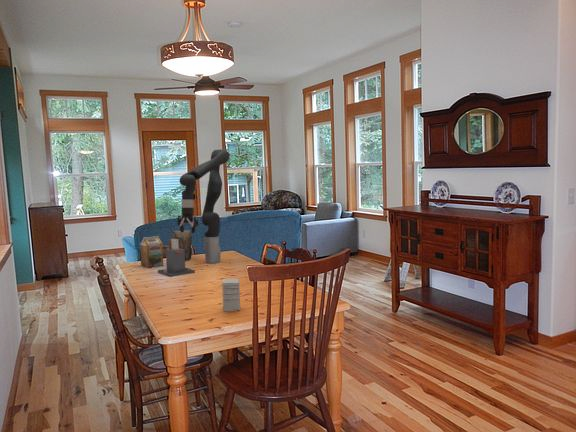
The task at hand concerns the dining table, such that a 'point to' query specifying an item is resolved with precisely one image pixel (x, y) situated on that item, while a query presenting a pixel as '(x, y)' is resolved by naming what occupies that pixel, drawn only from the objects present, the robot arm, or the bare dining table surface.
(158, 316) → the dining table surface
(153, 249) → the milk carton
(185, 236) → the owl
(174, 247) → the column
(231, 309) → the supplement box
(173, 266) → the stand housing
